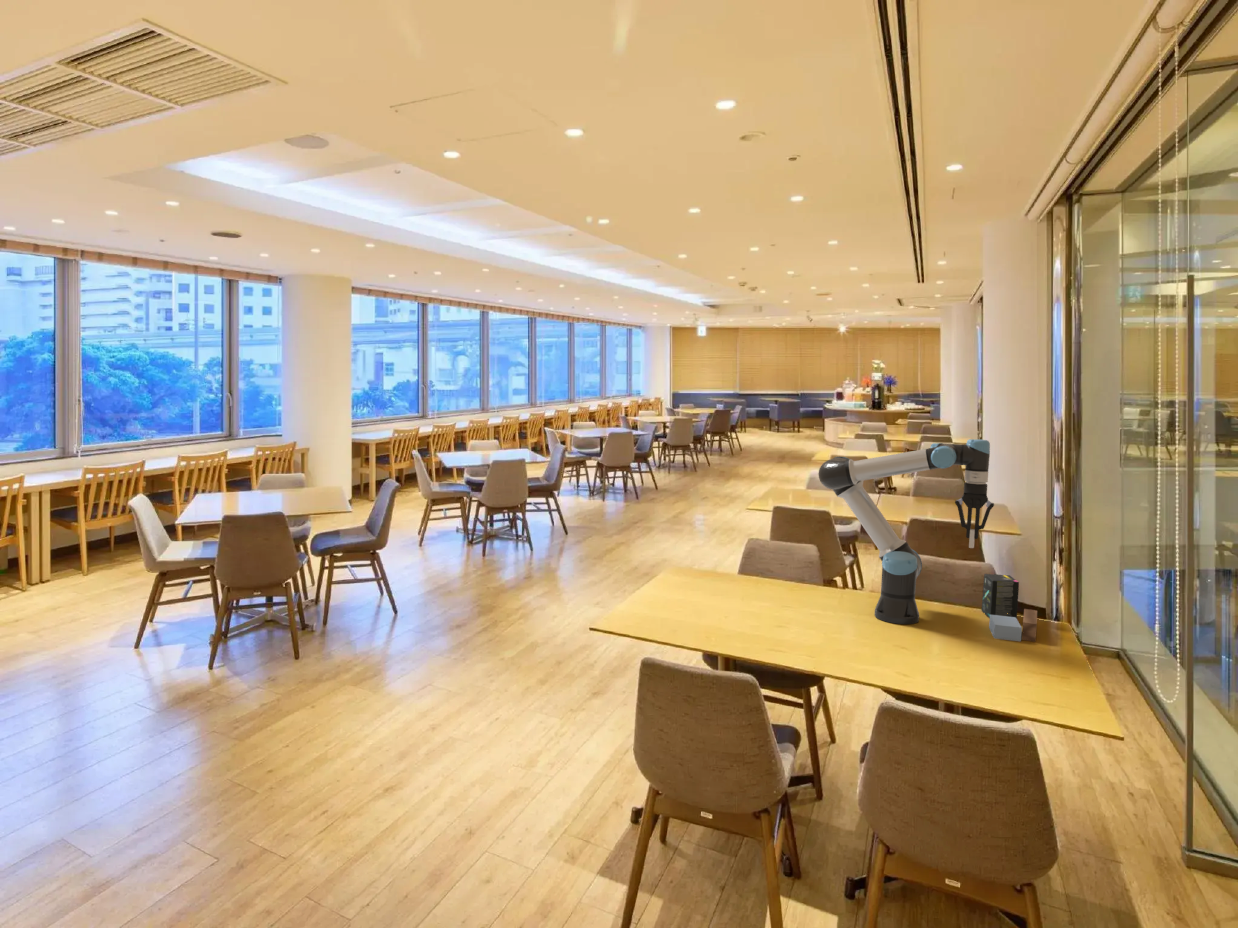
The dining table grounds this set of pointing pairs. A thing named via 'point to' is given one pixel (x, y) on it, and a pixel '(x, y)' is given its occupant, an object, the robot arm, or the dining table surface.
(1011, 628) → the block
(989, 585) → the tampon box
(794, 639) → the dining table surface
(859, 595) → the dining table surface
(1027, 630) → the walnut board
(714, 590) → the dining table surface
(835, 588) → the dining table surface
